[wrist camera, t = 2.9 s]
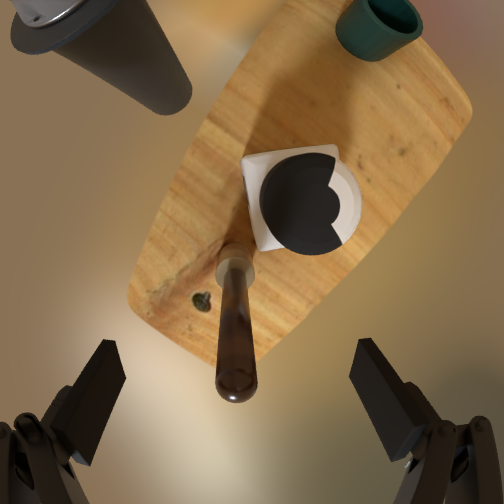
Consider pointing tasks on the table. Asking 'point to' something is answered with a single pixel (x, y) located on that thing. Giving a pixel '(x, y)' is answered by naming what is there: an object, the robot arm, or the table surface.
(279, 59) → the table surface
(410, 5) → the cup
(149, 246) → the table surface
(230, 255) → the brush
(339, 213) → the container
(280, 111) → the table surface
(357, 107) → the table surface
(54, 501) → the robot arm
